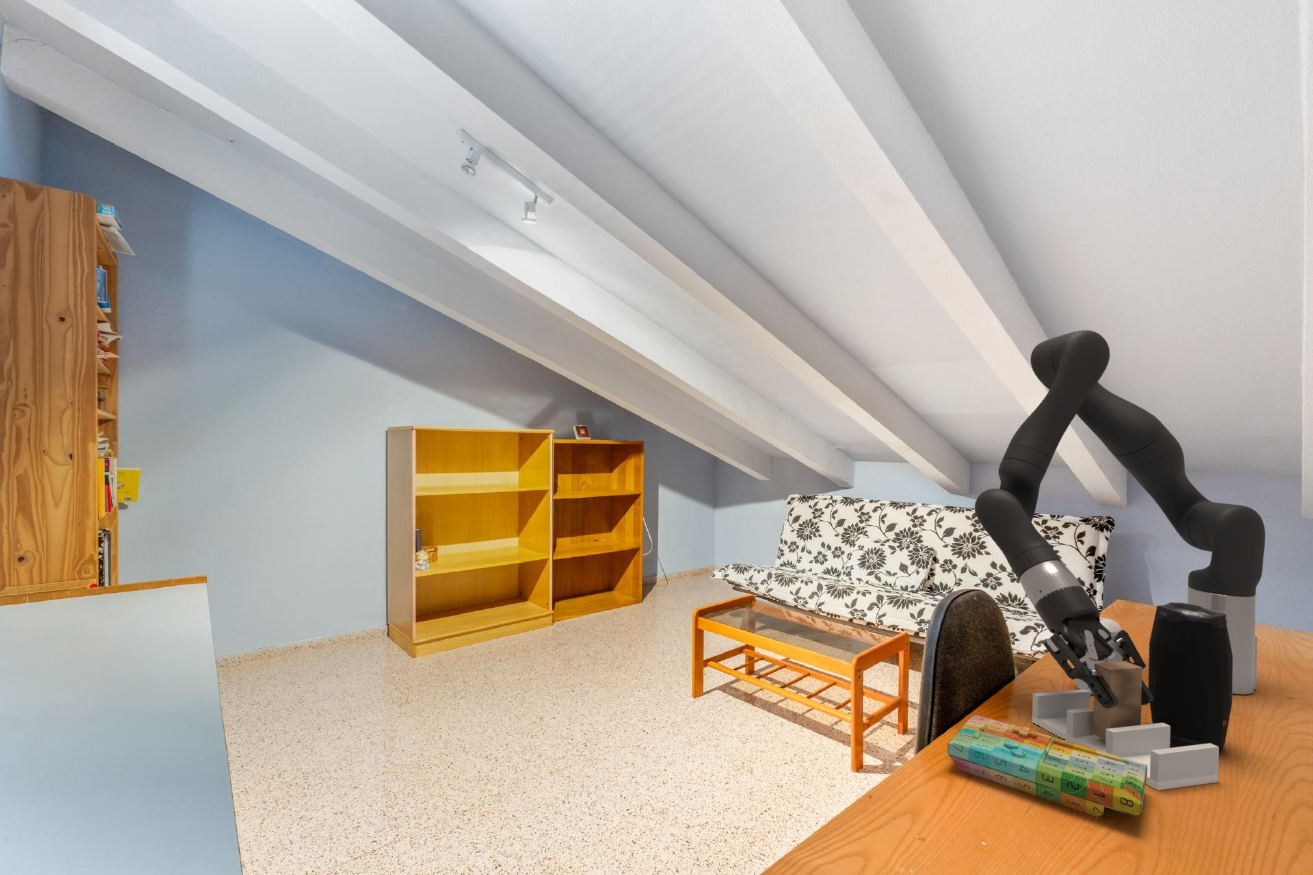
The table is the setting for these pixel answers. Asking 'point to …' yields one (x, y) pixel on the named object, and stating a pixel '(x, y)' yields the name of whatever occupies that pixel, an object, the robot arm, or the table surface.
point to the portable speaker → (1191, 674)
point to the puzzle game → (1049, 767)
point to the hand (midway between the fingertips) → (1129, 704)
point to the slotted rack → (1127, 741)
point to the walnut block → (1119, 697)
